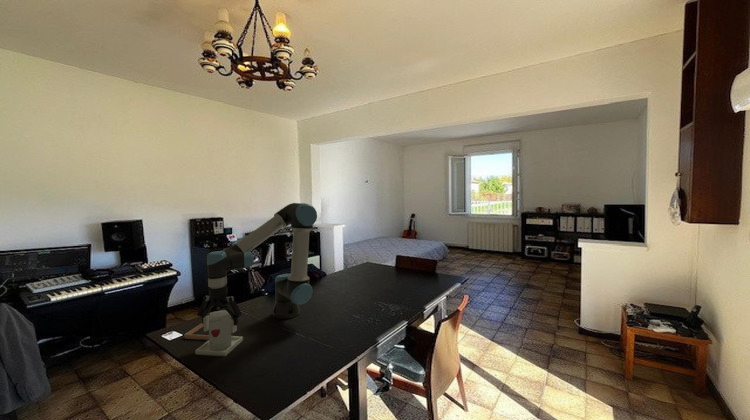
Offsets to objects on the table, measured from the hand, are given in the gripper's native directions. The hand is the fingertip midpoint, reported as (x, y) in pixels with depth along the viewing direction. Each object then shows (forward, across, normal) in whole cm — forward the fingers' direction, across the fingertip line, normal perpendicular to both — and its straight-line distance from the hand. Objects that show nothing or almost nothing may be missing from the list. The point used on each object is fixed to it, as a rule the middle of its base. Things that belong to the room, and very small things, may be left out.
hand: (220, 331), depth 137 cm
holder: (+7, +15, -13) cm, 21 cm away
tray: (+7, 0, 0) cm, 7 cm away
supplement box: (+7, 0, 0) cm, 7 cm away
